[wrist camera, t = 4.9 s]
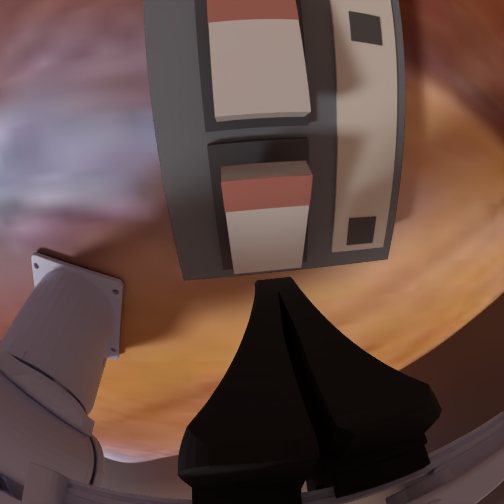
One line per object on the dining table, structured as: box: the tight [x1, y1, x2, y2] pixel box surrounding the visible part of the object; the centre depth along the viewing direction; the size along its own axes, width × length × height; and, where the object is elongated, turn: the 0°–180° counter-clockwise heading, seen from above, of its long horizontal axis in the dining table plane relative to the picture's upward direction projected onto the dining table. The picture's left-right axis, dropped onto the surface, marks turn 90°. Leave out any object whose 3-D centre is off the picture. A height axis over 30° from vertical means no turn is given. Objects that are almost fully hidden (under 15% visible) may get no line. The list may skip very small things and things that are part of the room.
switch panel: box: [143, 0, 405, 280], centre depth 11 cm, size 22×12×4 cm, turn 4°
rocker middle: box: [207, 0, 311, 122], centre depth 9 cm, size 5×3×2 cm, turn 5°
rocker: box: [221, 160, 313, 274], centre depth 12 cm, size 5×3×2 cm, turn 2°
